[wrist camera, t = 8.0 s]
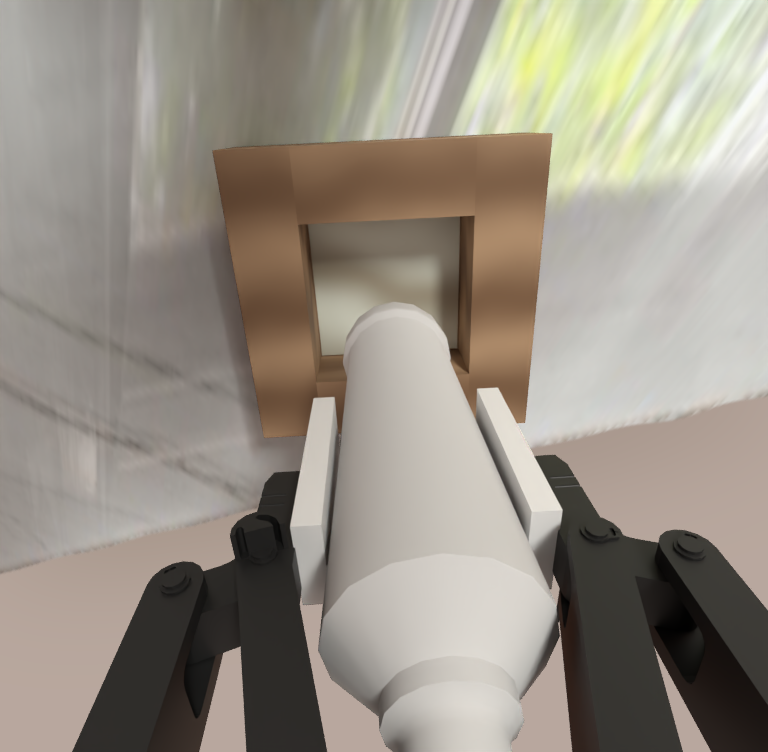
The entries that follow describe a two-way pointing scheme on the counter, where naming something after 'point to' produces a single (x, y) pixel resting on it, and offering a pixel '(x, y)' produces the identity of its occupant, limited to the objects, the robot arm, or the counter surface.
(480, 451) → the bottle
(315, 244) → the frame
